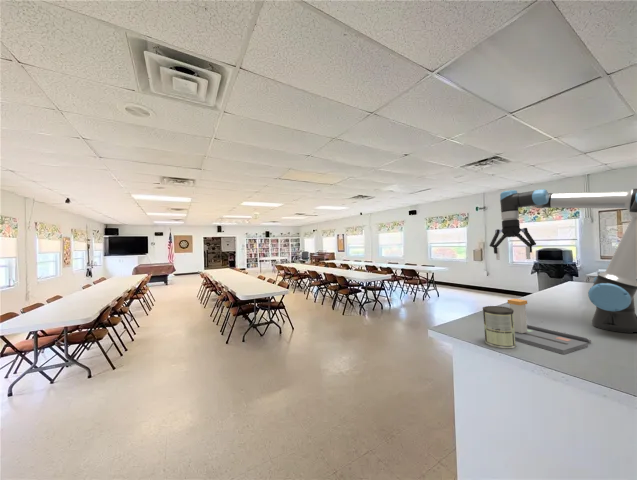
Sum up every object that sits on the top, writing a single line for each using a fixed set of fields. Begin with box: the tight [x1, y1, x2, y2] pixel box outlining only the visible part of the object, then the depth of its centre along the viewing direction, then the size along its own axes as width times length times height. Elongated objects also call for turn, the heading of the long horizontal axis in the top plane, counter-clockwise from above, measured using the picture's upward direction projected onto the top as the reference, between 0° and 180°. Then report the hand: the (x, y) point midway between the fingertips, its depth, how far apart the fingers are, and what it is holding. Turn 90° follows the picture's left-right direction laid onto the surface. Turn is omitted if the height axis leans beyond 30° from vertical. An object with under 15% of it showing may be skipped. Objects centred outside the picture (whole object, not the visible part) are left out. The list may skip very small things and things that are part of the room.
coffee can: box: [482, 305, 517, 349], centre depth 104 cm, size 10×10×14 cm
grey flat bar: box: [527, 324, 592, 344], centre depth 110 cm, size 23×4×2 cm, turn 22°
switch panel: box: [515, 329, 589, 355], centre depth 106 cm, size 26×16×2 cm, turn 22°
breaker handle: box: [507, 298, 528, 333], centre depth 112 cm, size 5×5×14 cm
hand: (513, 259), depth 137 cm, fingers open, 13 cm apart
